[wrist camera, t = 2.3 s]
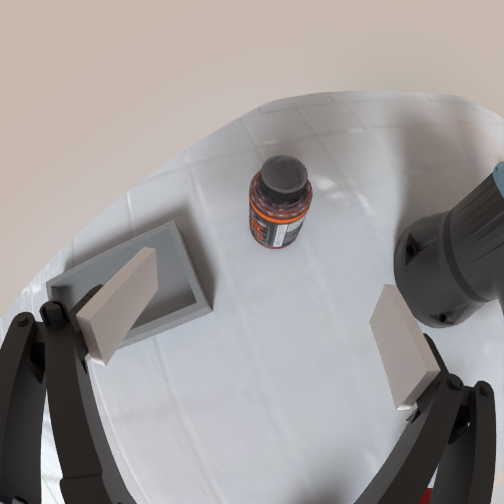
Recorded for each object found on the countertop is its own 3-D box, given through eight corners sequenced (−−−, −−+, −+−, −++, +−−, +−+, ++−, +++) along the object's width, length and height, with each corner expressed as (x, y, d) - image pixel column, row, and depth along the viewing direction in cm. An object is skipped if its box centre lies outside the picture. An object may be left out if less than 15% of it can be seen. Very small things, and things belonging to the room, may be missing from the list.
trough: (181, 231, 32) (171, 214, 28) (212, 311, 29) (205, 304, 25) (60, 288, 30) (39, 280, 25) (78, 363, 27) (56, 363, 22)
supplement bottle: (240, 219, 33) (235, 160, 22) (281, 198, 34) (293, 137, 23) (265, 259, 31) (272, 214, 21) (308, 236, 32) (332, 184, 22)
